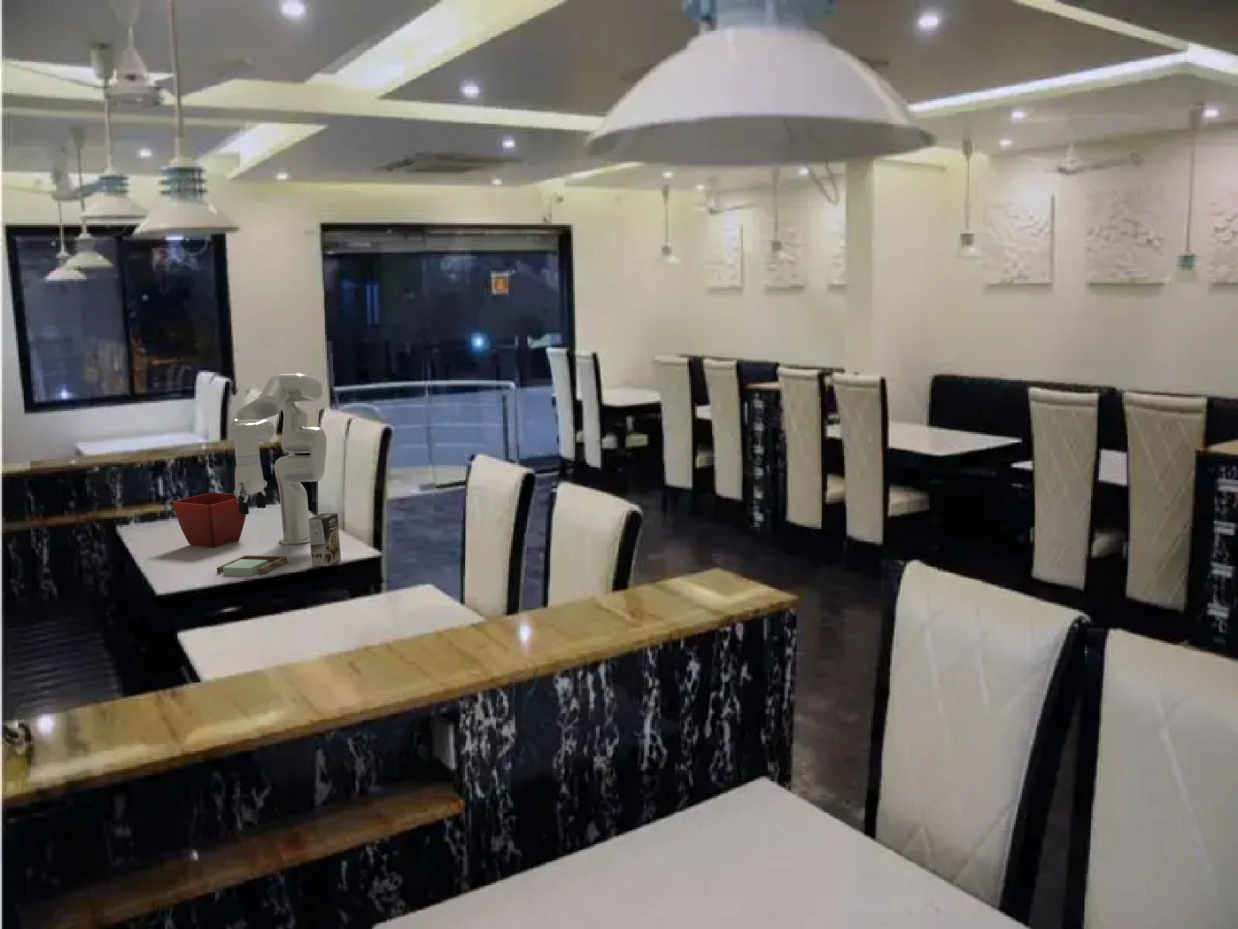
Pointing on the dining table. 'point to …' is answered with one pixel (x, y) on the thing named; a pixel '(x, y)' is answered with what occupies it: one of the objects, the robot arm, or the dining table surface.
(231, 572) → the cover plate
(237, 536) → the plant pot
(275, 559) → the u-shaped wooden frame
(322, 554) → the coffee box
